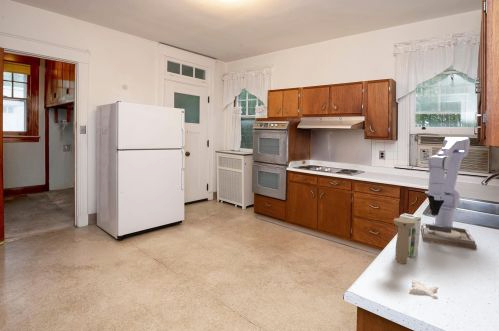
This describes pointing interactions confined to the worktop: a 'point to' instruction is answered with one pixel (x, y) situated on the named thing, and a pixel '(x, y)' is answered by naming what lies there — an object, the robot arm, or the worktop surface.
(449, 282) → the worktop surface
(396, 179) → the worktop surface
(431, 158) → the robot arm
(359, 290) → the worktop surface
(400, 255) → the handle
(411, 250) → the syrup box
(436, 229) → the dial
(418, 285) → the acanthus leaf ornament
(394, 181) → the worktop surface
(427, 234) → the dial housing
